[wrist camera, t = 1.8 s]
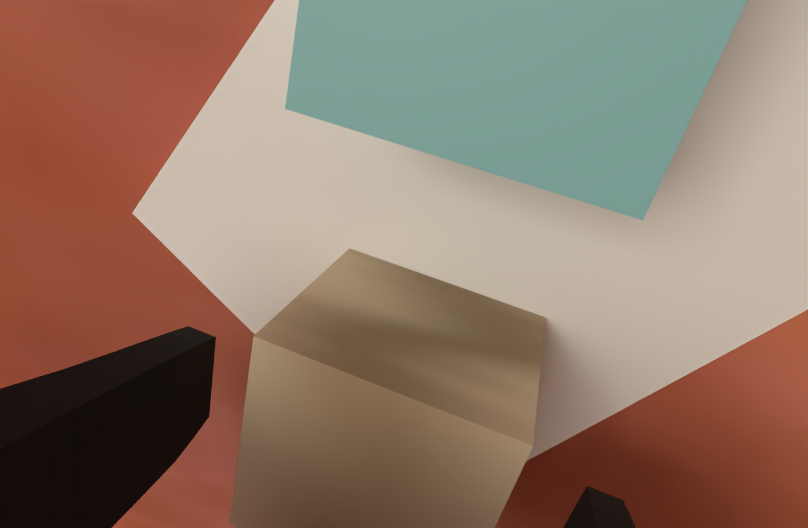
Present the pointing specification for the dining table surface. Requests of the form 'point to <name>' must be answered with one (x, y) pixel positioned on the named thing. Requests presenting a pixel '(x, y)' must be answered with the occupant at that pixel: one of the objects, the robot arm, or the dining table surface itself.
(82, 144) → the dining table surface
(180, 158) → the plate
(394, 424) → the maple block
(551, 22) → the teal block
